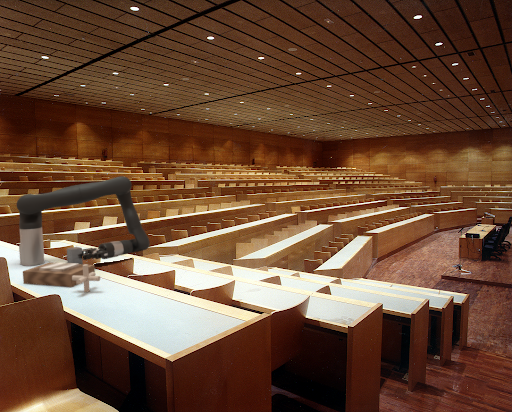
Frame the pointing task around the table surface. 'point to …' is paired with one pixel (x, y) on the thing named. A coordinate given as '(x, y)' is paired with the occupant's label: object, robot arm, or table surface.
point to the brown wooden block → (55, 274)
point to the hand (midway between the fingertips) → (78, 256)
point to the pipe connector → (86, 278)
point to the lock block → (74, 255)
